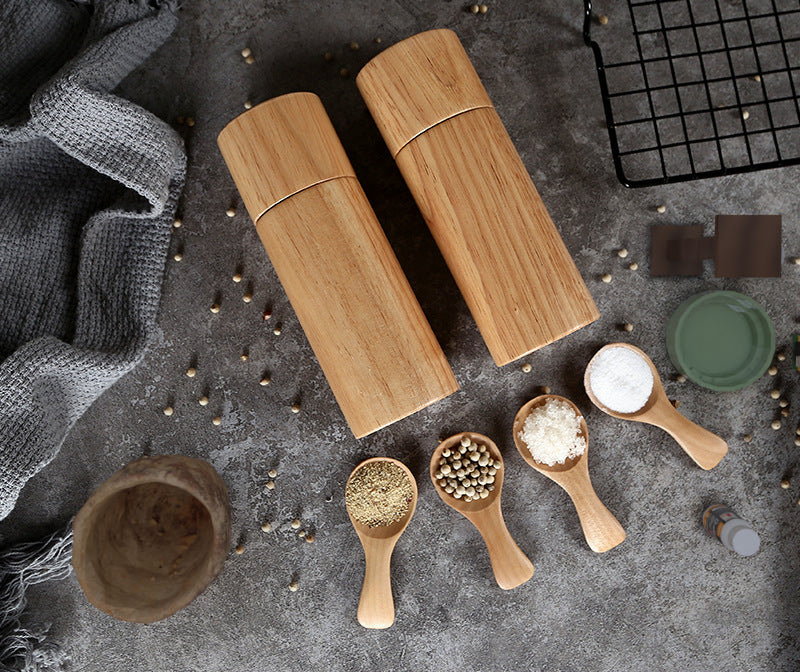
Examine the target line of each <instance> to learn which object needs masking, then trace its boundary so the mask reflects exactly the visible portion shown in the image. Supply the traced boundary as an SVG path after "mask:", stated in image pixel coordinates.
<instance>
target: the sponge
mask: <svg viewBox="0 0 800 672" xmlns="http://www.w3.org/2000/svg"><path fill="white" fill-rule="evenodd" d="M796 341H800V334H792V341H791V342H792V344H791V345H792V346H791V347H792V348H791V349H792V350H791V360H792V361H791V370H795V371H798V372H800V367H796V366H795V364H794V359H793V350H794V349H795V342H796Z"/></svg>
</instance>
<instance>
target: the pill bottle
mask: <svg viewBox="0 0 800 672" xmlns="http://www.w3.org/2000/svg"><path fill="white" fill-rule="evenodd" d="M702 524H703V527H704V529H705V530H706V531H707V532H708V533H709V534H710V535H711V536H712V537H713V538H714V539H716V540H717V541H718V542H719V543H720V544H721V545H722V546H723V547H725V548H726V549H727V550H728V551H732V552H735V553H736V554H738V555H740V556H743V557H750V556H753V555H754V554H756V553H757V552H758V550H759V549H760V546H761V539H760V537H759V536H760V535H759V534H758V533H757V532H756V531H755V530H754V529H753V527H752V525H751V524H750V523H749V522H748V521H747V520H746V519H744V517H741V516H740V515H739V514H737V513H736V512H735V511H733V510H732V509H730V508H729V507H727V506H725V505H724V504H719V503H718V504H712V505H711V506H709V507H707V508H706V510H705V511H704V513H703V514H702Z"/></svg>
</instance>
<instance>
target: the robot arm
mask: <svg viewBox="0 0 800 672" xmlns="http://www.w3.org/2000/svg"><path fill="white" fill-rule="evenodd" d="M793 359H794V364H795V366H796V367H800V341H796V342H795V349H794V350H793Z"/></svg>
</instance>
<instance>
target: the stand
mask: <svg viewBox="0 0 800 672" xmlns="http://www.w3.org/2000/svg"><path fill="white" fill-rule="evenodd" d="M782 231H783V215H782V214H715V215H714V235H709V236H704V226H703V225H696V224H695V225H694V224H693V225H691V224H690V225H687V224H685V225H684V224H683V225H682V224H679V225H677V224H675V225H672V224H669V225H668V224H667V225H666V224H665V225H663V224H661V225H659V224H657V225H656V224H654V225H650V257H649V258H650V259H649V260H650V263H649V265H650V266H649V267H650V270H649V271H650V272H649V275H650V276H703V271H704V270H703V269H704V267H703V266H704V265H703V264H704V262H703V261H714V278H719V279H720V278H721V279H722V278H724V279H725V278H731V279H732V278H737V279H739V278H744V279H746V278H749V279H751V278H753V279H756V278H759V279H760V278H762V279H766V278H767V279H768V278H769V279H770V278H771V279H774V278H775V279H776V278H777V279H781V278H782V265H781V254H782V247H783V243H782V241H783V239H782V237H783V235H782V234H783V232H782Z"/></svg>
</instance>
